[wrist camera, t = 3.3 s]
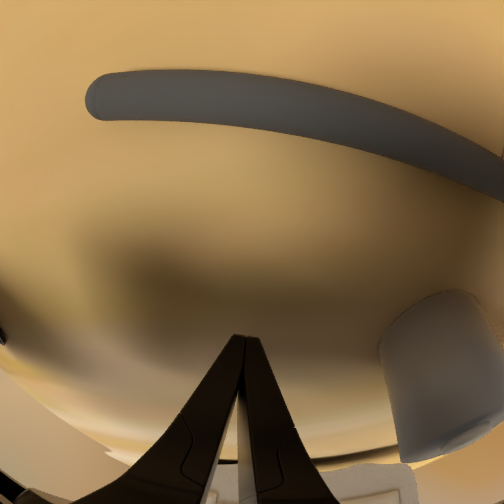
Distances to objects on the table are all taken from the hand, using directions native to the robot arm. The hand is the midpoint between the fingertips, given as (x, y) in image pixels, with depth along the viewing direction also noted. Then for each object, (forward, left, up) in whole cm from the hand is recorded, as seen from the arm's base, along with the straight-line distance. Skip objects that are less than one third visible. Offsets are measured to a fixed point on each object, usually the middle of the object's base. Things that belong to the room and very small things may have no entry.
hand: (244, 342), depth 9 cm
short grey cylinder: (+8, 0, -1) cm, 8 cm away
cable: (+2, +7, -1) cm, 7 cm away
